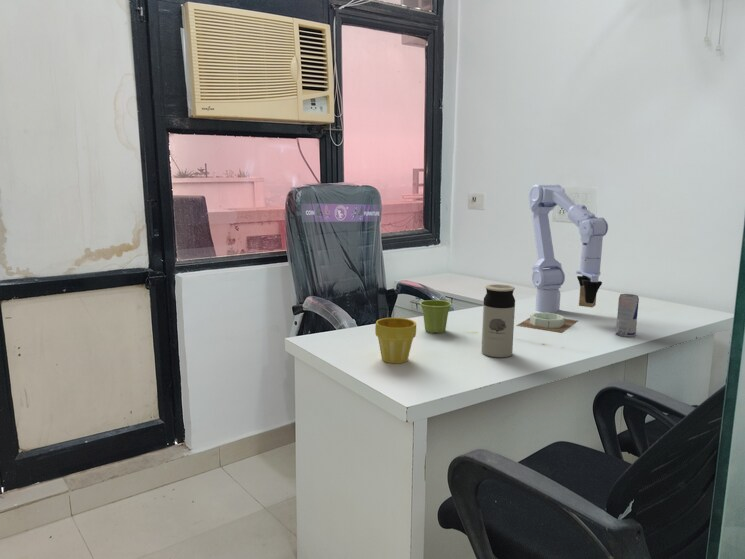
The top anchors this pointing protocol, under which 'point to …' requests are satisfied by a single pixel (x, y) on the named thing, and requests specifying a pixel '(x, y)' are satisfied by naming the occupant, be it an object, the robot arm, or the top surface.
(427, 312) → the plant pot
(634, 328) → the energy drink
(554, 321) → the octagonal green bowl
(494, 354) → the travel mug
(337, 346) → the top surface
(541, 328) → the walnut board
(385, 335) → the plant pot
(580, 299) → the brown wooden block
